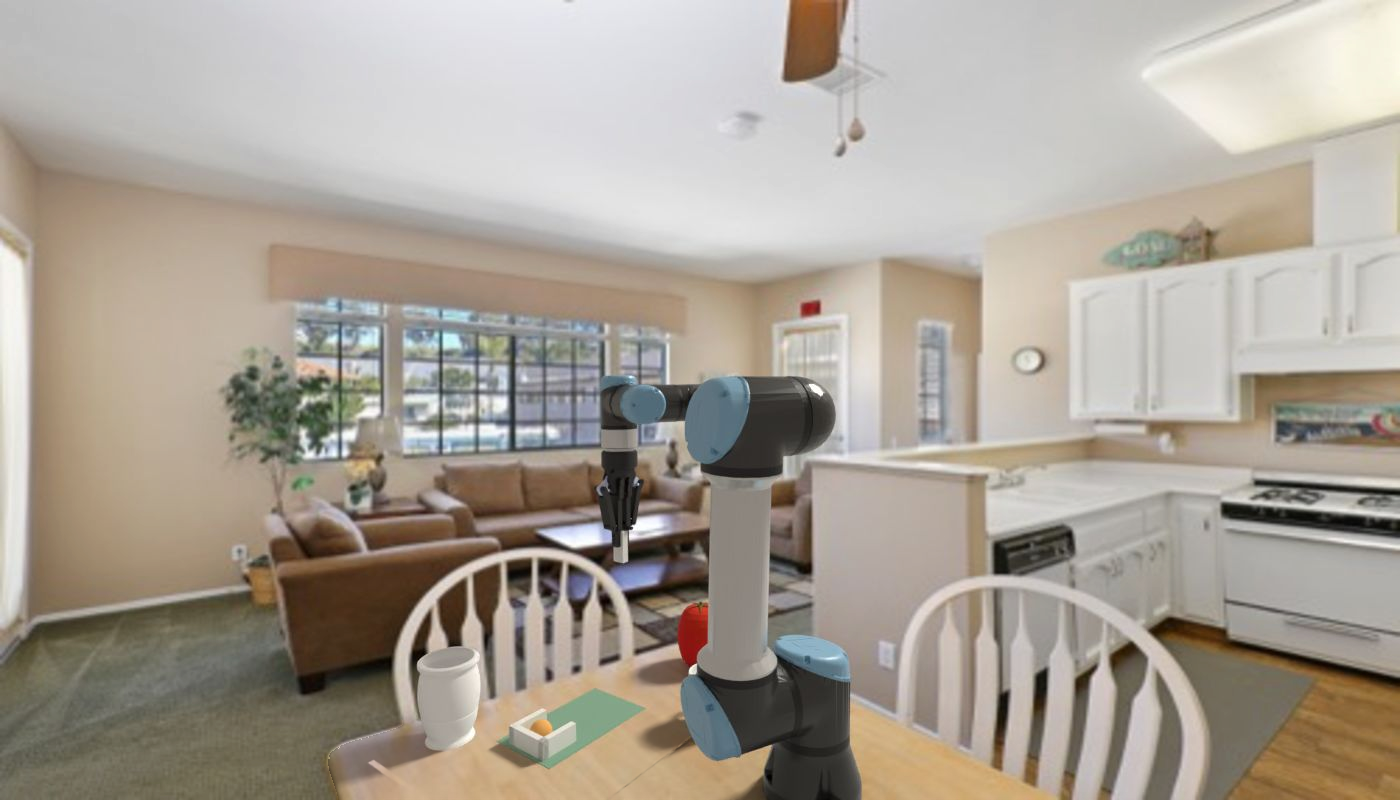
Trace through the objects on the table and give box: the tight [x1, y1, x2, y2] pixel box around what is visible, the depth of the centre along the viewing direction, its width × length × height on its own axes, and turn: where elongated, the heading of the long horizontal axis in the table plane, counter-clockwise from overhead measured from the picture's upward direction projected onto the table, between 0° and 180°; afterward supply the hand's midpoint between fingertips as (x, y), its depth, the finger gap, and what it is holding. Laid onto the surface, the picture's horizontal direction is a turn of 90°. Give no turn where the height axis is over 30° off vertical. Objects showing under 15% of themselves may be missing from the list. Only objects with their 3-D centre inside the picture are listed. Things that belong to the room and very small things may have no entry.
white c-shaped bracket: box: [508, 707, 576, 761], centre depth 113 cm, size 9×7×3 cm
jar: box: [416, 645, 481, 752], centre depth 115 cm, size 11×10×15 cm
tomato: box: [676, 601, 708, 668], centre depth 145 cm, size 13×11×14 cm
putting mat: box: [496, 687, 647, 770], centre depth 119 cm, size 14×24×1 cm, turn 144°
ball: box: [530, 719, 553, 737], centre depth 113 cm, size 4×4×4 cm
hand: (620, 561), depth 134 cm, fingers closed
